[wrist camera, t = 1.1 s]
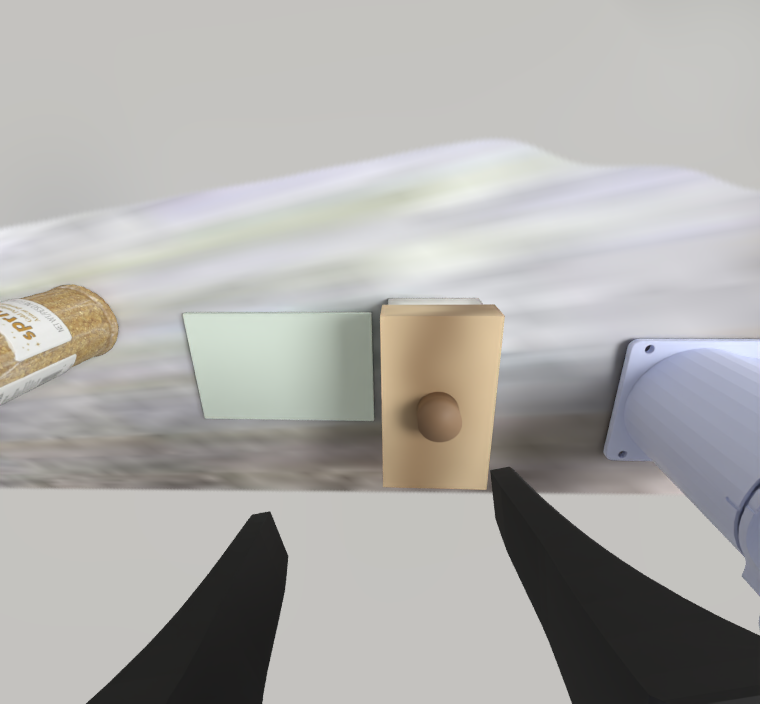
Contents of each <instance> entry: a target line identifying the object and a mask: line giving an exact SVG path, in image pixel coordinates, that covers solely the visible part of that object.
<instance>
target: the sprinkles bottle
mask: <svg viewBox="0 0 760 704" xmlns="http://www.w3.org/2000/svg"><path fill="white" fill-rule="evenodd" d="M117 335H118V324H117V321H116V317H115V315H114V314H113V312H112V310H111V309H110V307H109V305H108V304H107V303H105V301H104V300H103V299H102V298H101V297H99V296H98V295H97V294H95V293H93V292H91V291H90V290H88V289H86V288H84V287H80V286H77V285H63V286H59V287H56V288H54V289H51V290H49V291H47V292H44V293H39V294H35V295H31V296H29V297H24V298H21V299H11V300H6V301H2V302H0V405H2V404H4V403H6V402H8V401H10V400H12V399H14V398H16V397H18V396H20V395H22V394H24V393H26V392H28V391H30V390H32V389H34V388H36V387H38V386H40V385H42V384H44V383H46V382H48V381H49V380H51V379H53V378H55V377H57V376H59V375H61V374H63V373H65V372H66V371H68V370H69V369H70V368H71V367H73V366H75V365H78V364H80V363H81V362H83V361H86V360H88V359H90V358H92V357H95V356H100V355H103V354H104V353H106V352H107V351H109V350H110V349H111V348H112V347H113V345H114V344H115V342H116V340H117Z"/></svg>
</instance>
